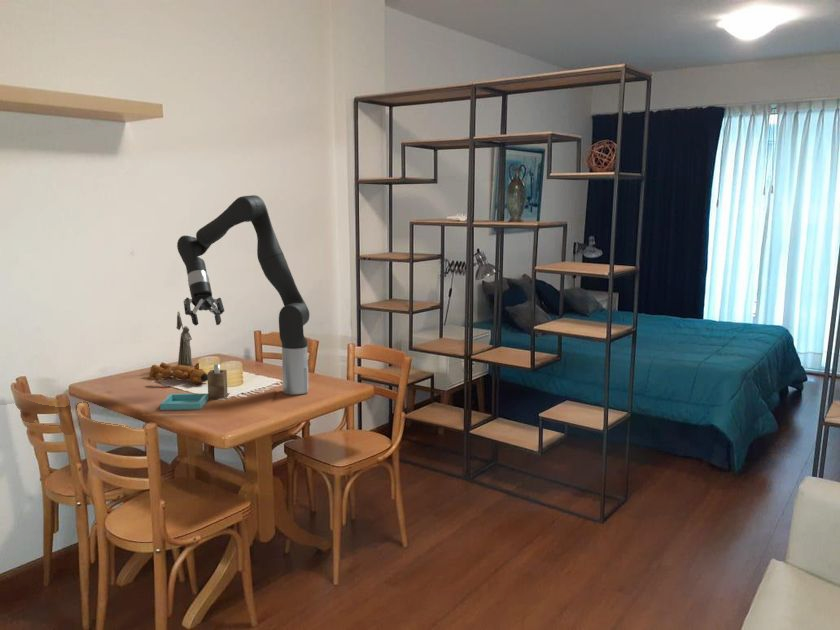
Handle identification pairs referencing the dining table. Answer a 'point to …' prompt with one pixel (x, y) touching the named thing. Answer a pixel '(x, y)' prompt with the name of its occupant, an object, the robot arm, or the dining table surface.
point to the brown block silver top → (217, 370)
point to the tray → (184, 402)
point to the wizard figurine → (184, 344)
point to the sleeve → (217, 384)
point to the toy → (179, 373)
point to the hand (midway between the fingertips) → (207, 324)
